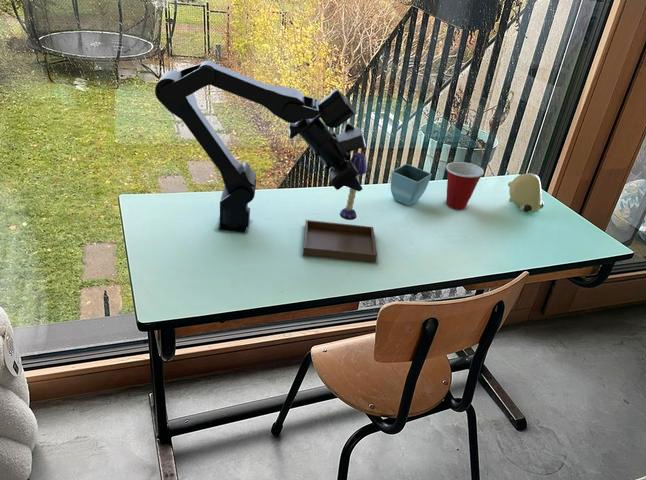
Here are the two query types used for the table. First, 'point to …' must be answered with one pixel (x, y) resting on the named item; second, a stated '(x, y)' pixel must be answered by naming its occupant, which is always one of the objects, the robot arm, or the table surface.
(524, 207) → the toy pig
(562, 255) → the table surface
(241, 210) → the robot arm
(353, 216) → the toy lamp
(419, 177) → the flower pot
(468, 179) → the plastic cup
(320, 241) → the tray
